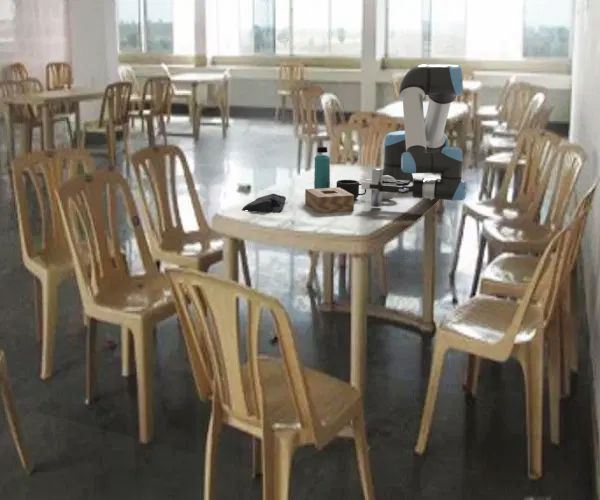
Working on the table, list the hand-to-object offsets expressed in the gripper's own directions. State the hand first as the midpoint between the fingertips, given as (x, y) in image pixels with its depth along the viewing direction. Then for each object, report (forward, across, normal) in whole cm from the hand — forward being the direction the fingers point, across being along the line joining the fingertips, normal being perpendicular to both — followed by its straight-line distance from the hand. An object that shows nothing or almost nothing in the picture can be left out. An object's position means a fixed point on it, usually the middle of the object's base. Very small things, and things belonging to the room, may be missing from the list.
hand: (363, 184), depth 321 cm
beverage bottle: (+21, +17, -10) cm, 29 cm away
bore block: (+12, -5, -9) cm, 16 cm away
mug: (+8, +14, -10) cm, 19 cm away
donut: (-6, +17, -9) cm, 20 cm away
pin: (-5, 0, -8) cm, 10 cm away
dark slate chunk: (+35, -10, -10) cm, 38 cm away
